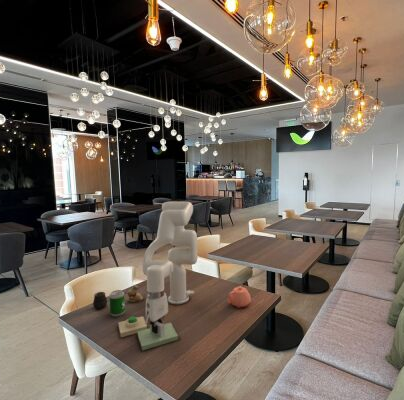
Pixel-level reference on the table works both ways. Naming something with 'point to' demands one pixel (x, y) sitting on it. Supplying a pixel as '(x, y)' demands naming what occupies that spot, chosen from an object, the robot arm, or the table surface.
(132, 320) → the button
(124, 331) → the button box
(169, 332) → the panel
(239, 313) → the table surface
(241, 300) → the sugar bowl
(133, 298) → the chocolate bunny
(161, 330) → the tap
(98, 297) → the mate gourd
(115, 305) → the soda can
